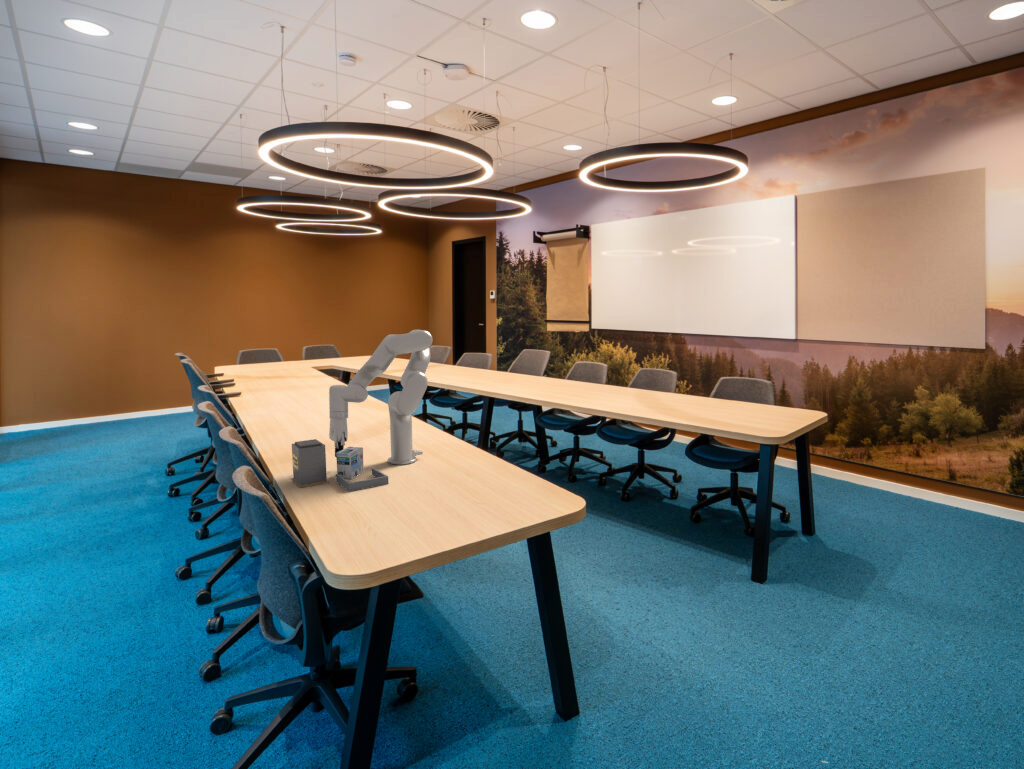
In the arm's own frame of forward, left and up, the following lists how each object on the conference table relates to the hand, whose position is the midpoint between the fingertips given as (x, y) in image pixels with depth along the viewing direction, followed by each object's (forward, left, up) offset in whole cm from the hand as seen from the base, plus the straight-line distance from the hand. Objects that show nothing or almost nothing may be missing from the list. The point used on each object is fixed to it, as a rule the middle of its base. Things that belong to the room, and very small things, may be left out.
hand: (339, 456), depth 229 cm
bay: (-1, +23, -5) cm, 24 cm away
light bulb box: (-1, +11, -6) cm, 12 cm away
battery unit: (+15, +10, -5) cm, 19 cm away
